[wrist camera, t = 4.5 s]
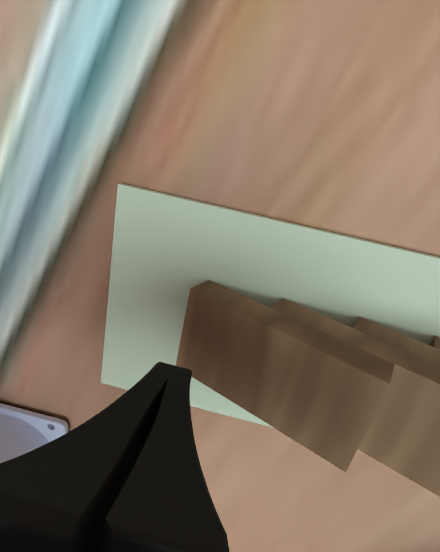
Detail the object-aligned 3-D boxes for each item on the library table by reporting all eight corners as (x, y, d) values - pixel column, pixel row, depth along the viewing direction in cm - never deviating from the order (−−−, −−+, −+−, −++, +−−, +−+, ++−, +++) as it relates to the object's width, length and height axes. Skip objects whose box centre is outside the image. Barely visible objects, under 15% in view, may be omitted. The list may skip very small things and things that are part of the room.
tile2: (247, 385, 18) (440, 496, 14) (270, 307, 16) (498, 410, 12) (260, 370, 19) (439, 469, 15) (282, 298, 17) (492, 387, 13)
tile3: (321, 403, 17) (537, 522, 14) (353, 327, 16) (612, 439, 12) (329, 388, 19) (528, 492, 15) (359, 316, 17) (594, 413, 13)
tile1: (175, 366, 18) (346, 472, 14) (190, 288, 16) (390, 384, 12) (193, 353, 19) (353, 446, 15) (208, 279, 17) (394, 364, 13)
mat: (103, 378, 21) (100, 382, 21) (121, 183, 16) (117, 183, 16) (563, 497, 20) (569, 504, 19) (720, 322, 15) (731, 326, 15)
